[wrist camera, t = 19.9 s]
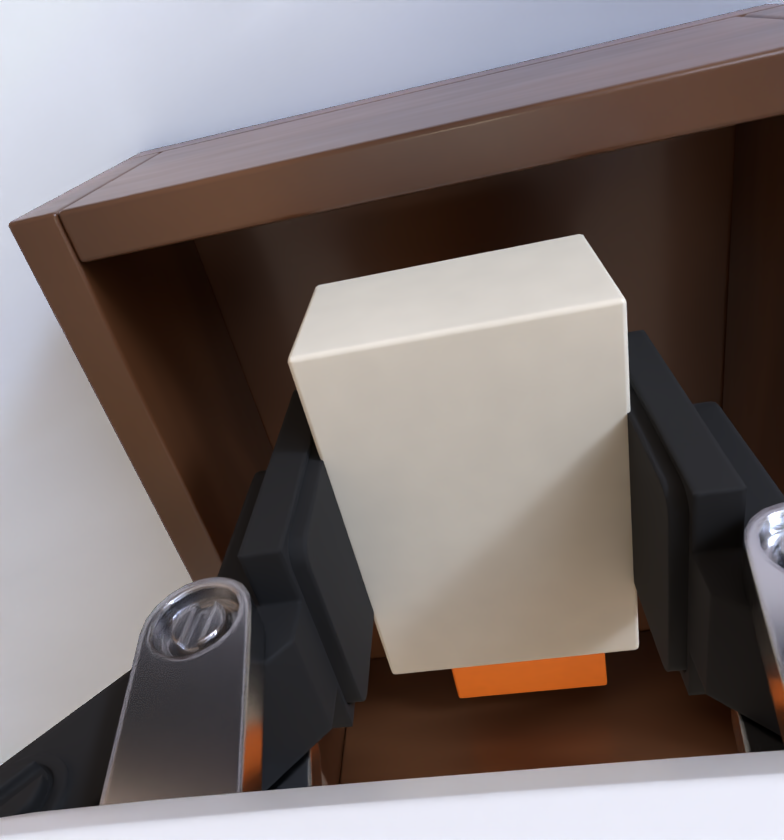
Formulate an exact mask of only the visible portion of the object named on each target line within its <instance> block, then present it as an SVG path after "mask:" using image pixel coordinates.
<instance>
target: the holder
mask: <svg viewBox="0 0 784 840" xmlns="http://www.w3.org/2000/svg"><path fill="white" fill-rule="evenodd" d="M9 228H10V230H11V232H12V234H13V236H14V238H15V239H16V241H17V243H18V245H19V247H20V249H21V251H22V253H23V255H24V257H25V259H26V261H27V263H28V265H29V266H30V268H31V270H32V272H33V274H34V276H35V278H36V280H37V282H38V284H39V286H40V288H41V290H42V292H43V293H44V295H45V297H46V299H47V301H48V303H49V305H50V307H51V309H52V311H53V313H54V315H55V317H56V319H57V320H58V322H59V324H60V326H61V328H62V330H63V332H64V334H65V336H66V338H67V340H68V342H69V344H70V345H71V347H72V349H73V351H74V353H75V355H76V357H77V359H78V361H79V363H80V365H81V367H82V369H83V371H84V372H85V374H86V376H87V378H88V380H89V382H90V384H91V386H92V388H93V390H94V392H95V394H96V396H97V398H98V399H99V401H100V403H101V405H102V407H103V409H104V411H105V413H106V415H107V417H108V419H109V421H110V423H111V424H112V426H113V428H114V430H115V432H116V434H117V436H118V438H119V440H120V442H121V444H122V446H123V448H124V450H125V451H126V453H127V455H128V457H129V459H130V461H131V463H132V465H133V467H134V469H135V471H136V473H137V475H138V477H139V478H140V480H141V482H142V484H143V486H144V488H145V490H146V492H147V494H148V496H149V498H150V500H151V502H152V504H153V505H154V507H155V509H156V511H157V513H158V515H159V517H160V519H161V521H162V523H163V525H164V527H165V529H166V530H167V532H168V534H169V536H170V538H171V540H172V542H173V544H174V546H175V548H176V550H177V552H178V554H179V556H180V557H181V559H182V561H183V563H184V565H185V567H186V569H187V571H188V573H189V575H190V577H191V579H192V581H193V582H195V581H198V580H200V579H205V578H212V577H217V576H218V573H219V570H220V567H221V565H222V562H223V559H224V556H225V554H226V551H227V548H228V545H229V543H230V540H231V537H232V534H233V532H234V529H235V526H236V523H237V521H238V518H239V515H240V512H241V510H242V507H243V504H244V501H245V499H246V496H247V493H248V490H249V488H250V485H251V482H252V479H253V477H254V476H255V474H256V473H257V472H259V471H263V470H267V467H268V465H269V462H270V459H271V456H272V453H273V450H274V447H275V444H276V441H277V438H278V435H279V432H280V429H281V426H282V423H283V420H284V417H285V415H286V412H287V409H288V406H289V403H290V400H291V397H292V394H293V392H294V390H296V389H297V388H296V385H295V382H294V380H293V377H292V374H291V371H290V368H289V365H288V357H289V355H290V352H291V349H292V347H293V344H294V342H295V339H296V337H297V334H298V331H299V329H300V326H301V324H302V321H303V318H304V316H305V313H306V311H307V308H308V306H309V303H310V300H311V298H312V295H313V293H314V290H315V287H317V286H318V285H322V284H327V283H332V282H337V281H343V280H348V279H353V278H358V277H363V276H368V275H373V274H378V273H383V272H388V271H393V270H399V269H404V268H409V267H414V266H419V265H424V264H429V263H434V262H439V261H444V260H450V259H455V258H460V257H465V256H470V255H475V254H480V253H485V252H490V251H495V250H500V249H506V248H511V247H516V246H521V245H526V244H531V243H536V242H541V241H546V240H551V239H557V238H562V237H567V236H572V235H577V234H581V235H583V236H584V237H585V239H586V240H587V242H588V243H589V245H590V246H591V248H592V249H593V251H594V252H595V254H596V255H597V257H598V258H599V260H600V261H601V263H602V264H603V266H604V267H605V269H606V270H607V272H608V274H609V275H610V277H611V278H612V280H613V281H614V283H615V284H616V286H617V287H618V289H619V290H620V292H621V293H622V295H623V296H624V298H625V300H626V302H627V329H628V332H632V331H638V330H644V331H645V332H646V334H647V335H648V337H649V338H650V340H651V341H652V343H653V344H654V346H655V347H656V349H657V350H658V352H659V354H660V355H661V357H662V358H663V360H664V361H665V363H666V364H667V366H668V367H669V369H670V370H671V372H672V373H673V375H674V377H675V378H676V380H677V381H678V383H679V384H680V386H681V387H682V389H683V390H684V392H685V393H686V395H687V396H688V398H689V399H690V401H691V403H692V404H696V403H702V402H709V401H712V402H716V403H717V404H718V405H719V406H720V407H721V409H722V410H723V411H724V413H725V414H726V416H727V417H728V418H729V420H730V421H731V423H732V424H733V425H734V427H735V428H736V430H737V431H738V432H739V434H740V435H741V437H742V438H743V439H744V441H745V442H746V444H747V445H748V446H749V448H750V449H751V451H752V452H753V453H754V455H755V456H756V458H757V459H758V460H759V462H760V463H761V464H762V466H763V467H764V469H765V470H766V471H767V473H768V474H769V476H770V477H771V478H772V480H773V481H774V483H775V484H776V485H777V487H778V488H779V490H780V491H781V492H782V494H783V495H784V5H779V4H765V5H761V6H757V7H752V8H748V9H744V10H740V11H736V12H731V13H727V14H723V15H719V16H714V17H710V18H706V19H702V20H698V21H693V22H689V23H685V24H681V25H676V26H672V27H668V28H664V29H660V30H655V31H651V32H647V33H643V34H638V35H634V36H630V37H626V38H622V39H617V40H613V41H609V42H605V43H600V44H596V45H592V46H588V47H584V48H579V49H575V50H571V51H567V52H562V53H558V54H554V55H550V56H546V57H541V58H537V59H533V60H529V61H524V62H520V63H516V64H512V65H508V66H503V67H499V68H495V69H491V70H486V71H482V72H478V73H474V74H470V75H465V76H461V77H457V78H453V79H448V80H444V81H440V82H436V83H432V84H427V85H423V86H419V87H415V88H410V89H406V90H402V91H398V92H394V93H389V94H385V95H381V96H377V97H372V98H368V99H364V100H360V101H356V102H351V103H347V104H343V105H339V106H334V107H330V108H326V109H322V110H317V111H313V112H309V113H305V114H301V115H296V116H292V117H288V118H284V119H279V120H275V121H271V122H267V123H263V124H258V125H254V126H250V127H246V128H241V129H237V130H233V131H229V132H225V133H220V134H216V135H212V136H208V137H203V138H199V139H195V140H191V141H187V142H182V143H178V144H174V145H170V146H165V147H161V148H157V149H153V150H149V151H144V152H140V153H139V154H137V155H135V156H133V157H131V158H129V159H128V160H126V161H124V162H122V163H120V164H118V165H116V166H114V167H112V168H111V169H109V170H107V171H105V172H103V173H101V174H99V175H97V176H96V177H94V178H92V179H90V180H88V181H86V182H84V183H82V184H81V185H79V186H77V187H75V188H73V189H71V190H69V191H67V192H66V193H64V194H62V195H60V196H58V197H56V198H54V199H53V200H51V201H49V202H47V203H45V204H43V205H41V206H39V207H38V208H36V209H34V210H32V211H30V212H28V213H26V214H24V215H23V216H21V217H19V218H17V219H15V220H13V221H11V222H10V223H9ZM637 603H638V631H639V647H638V649H636V650H628V651H618V652H609V653H605V660H606V673H607V684H606V685H602V686H591V687H580V688H569V689H558V690H547V691H536V692H525V693H514V694H503V695H492V696H481V697H470V698H459V696H458V693H457V689H456V685H455V682H454V678H453V674H452V670H451V669H443V670H433V671H424V672H414V673H404V674H393V673H392V671H391V668H390V665H389V663H388V660H387V657H386V654H385V651H384V648H383V645H382V642H381V639H380V636H379V633H378V630H377V627H376V624H375V621H373V632H372V644H371V656H370V667H369V679H368V691H367V697H366V700H365V701H362V702H355V709H354V718H353V726H352V727H341V728H332V729H331V730H330V731H329V732H328V733H327V734H326V735H325V736H324V737H323V738H322V739H321V740H320V741H319V742H318V745H319V749H320V757H321V776H322V786H326V785H338V784H350V783H362V782H375V781H387V780H400V779H412V778H425V777H438V776H450V775H463V774H475V773H488V772H501V771H514V770H527V769H539V768H552V767H565V766H578V765H591V764H604V763H617V762H630V761H643V760H657V759H670V758H684V757H698V756H711V755H725V754H738V749H737V744H736V739H735V734H734V729H733V724H732V719H731V708H730V707H728V706H726V705H724V704H723V703H721V702H719V701H717V700H715V699H714V698H712V697H710V696H708V695H707V694H700V695H688V692H687V689H686V687H685V684H684V681H683V679H682V676H681V673H680V671H670V672H667V671H666V670H665V668H664V666H663V664H662V661H661V658H660V655H659V652H658V650H657V647H656V644H655V641H654V638H653V635H652V633H651V630H650V627H649V624H648V621H647V618H646V616H645V613H644V610H643V607H642V604H641V601H640V599H639V596H638V593H637Z"/></svg>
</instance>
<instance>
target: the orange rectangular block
mask: <svg viewBox="0 0 784 840" xmlns="http://www.w3.org/2000/svg"><path fill="white" fill-rule="evenodd" d="M451 670H452V674H453V678H454V682H455V685H456V689H457V693H458V696H459V698H470V697H481V696H492V695H503V694H514V693H525V692H536V691H547V690H558V689H569V688H580V687H591V686H602V685H606V684H607V673H606V660H605V653H599V654H589V655H579V656H570V657H560V658H550V659H540V660H531V661H521V662H511V663H501V664H492V665H482V666H472V667H463V668H453V669H451Z"/></svg>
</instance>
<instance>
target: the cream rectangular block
mask: <svg viewBox="0 0 784 840" xmlns="http://www.w3.org/2000/svg"><path fill="white" fill-rule="evenodd" d="M288 365H289V368H290V371H291V374H292V377H293V380H294V382H295V385H296V388H297V391H298V394H299V397H300V400H301V403H302V406H303V409H304V412H305V415H306V418H307V421H308V424H309V427H310V430H311V433H312V436H313V439H314V442H315V445H316V448H317V451H318V454H319V457H320V459H321V460H323V461H324V464H325V467H326V470H327V473H328V476H329V479H330V482H331V485H332V488H333V491H334V494H335V497H336V500H337V503H338V506H339V509H340V512H341V515H342V518H343V521H344V524H345V527H346V530H347V533H348V536H349V539H350V542H351V545H352V548H353V551H354V554H355V557H356V560H357V563H358V566H359V569H360V572H361V575H362V578H363V581H364V584H365V587H366V590H367V593H368V596H369V599H370V602H371V605H372V608H373V611H374V621H375V624H376V627H377V630H378V633H379V636H380V639H381V642H382V645H383V648H384V651H385V654H386V657H387V660H388V663H389V665H390V668H391V671H392V673H393V674H404V673H414V672H424V671H433V670H443V669H453V668H463V667H472V666H482V665H492V664H501V663H511V662H521V661H531V660H540V659H550V658H560V657H570V656H579V655H589V654H599V653H609V652H618V651H628V650H636V649H638V647H639V631H638V603H637V590H636V587H635V584H634V572H633V546H632V521H631V496H630V470H629V445H628V419H627V413H629V412H630V384H629V357H628V329H627V302H626V300H625V298H624V296H623V295H622V293H621V292H620V290H619V289H618V287H617V286H616V284H615V283H614V281H613V280H612V278H611V277H610V275H609V274H608V272H607V270H606V269H605V267H604V266H603V264H602V263H601V261H600V260H599V258H598V257H597V255H596V254H595V252H594V251H593V249H592V248H591V246H590V245H589V243H588V242H587V240H586V239H585V237H584V236H583V235H581V234H577V235H572V236H567V237H562V238H557V239H551V240H546V241H541V242H536V243H531V244H526V245H521V246H516V247H511V248H506V249H500V250H495V251H490V252H485V253H480V254H475V255H470V256H465V257H460V258H455V259H450V260H444V261H439V262H434V263H429V264H424V265H419V266H414V267H409V268H404V269H399V270H393V271H388V272H383V273H378V274H373V275H368V276H363V277H358V278H353V279H348V280H343V281H337V282H332V283H327V284H322V285H318V286H317V287H315V290H314V293H313V295H312V298H311V300H310V303H309V306H308V308H307V311H306V313H305V316H304V318H303V321H302V324H301V326H300V329H299V331H298V334H297V337H296V339H295V342H294V344H293V347H292V349H291V352H290V355H289V357H288Z"/></svg>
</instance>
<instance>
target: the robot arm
mask: <svg viewBox="0 0 784 840" xmlns="http://www.w3.org/2000/svg"><path fill="white" fill-rule="evenodd" d="M628 357H629V384H630V412H629V413H627V419H628V445H629V470H630V496H631V521H632V546H633V572H634V584H635V587H636V590H637V593H638V596H639V599H640V601H641V604H642V607H643V610H644V613H645V616H646V618H647V621H648V624H649V627H650V630H651V633H652V635H653V638H654V641H655V644H656V647H657V650H658V652H659V655H660V658H661V661H662V664H663V666H664V668H665V670H666V671H667V672H670V671H680V673H681V676H682V679H683V681H684V684H685V687H686V689H687V692H688V695H700V694H707V695H708V696H710V697H712V698H714V699H715V700H717V701H719V702H721V703H723V704H724V705H726V706H728V707H730V708H731V719H732V724H733V729H734V734H735V739H736V744H737V749H738V754H725V755H711V756H698V757H684V758H670V759H657V760H643V761H630V762H617V763H604V764H591V765H578V766H565V767H552V768H539V769H527V770H514V771H501V772H488V773H475V774H463V775H450V776H438V777H425V778H412V779H400V780H387V781H375V782H362V783H350V784H338V785H326V786H322V776H321V757H320V749H319V745H318V742H319V741H320V740H321V739H322V738H323V737H324V736H325V735H326V734H327V733H328V732H329V731H330V730H331V729H332V728H341V727H352V726H353V718H354V709H355V702H362V701H365V700H366V697H367V691H368V679H369V667H370V656H371V644H372V632H373V621H374V611H373V608H372V605H371V602H370V599H369V596H368V593H367V590H366V587H365V584H364V581H363V578H362V575H361V572H360V569H359V566H358V563H357V560H356V557H355V554H354V551H353V548H352V545H351V542H350V539H349V536H348V533H347V530H346V527H345V524H344V521H343V518H342V515H341V512H340V509H339V506H338V503H337V500H336V497H335V494H334V491H333V488H332V485H331V482H330V479H329V476H328V473H327V470H326V467H325V464H324V461H323V460H321V459H320V457H319V454H318V451H317V448H316V445H315V442H314V439H313V436H312V433H311V430H310V427H309V424H308V421H307V418H306V415H305V412H304V409H303V406H302V403H301V400H300V397H299V394H298V391H297V389H296V390H294V392H293V394H292V397H291V400H290V403H289V406H288V409H287V412H286V415H285V417H284V420H283V423H282V426H281V429H280V432H279V435H278V438H277V441H276V444H275V447H274V450H273V453H272V456H271V459H270V462H269V465H268V467H267V470H263V471H259V472H257V473H256V474H255V476H254V477H253V479H252V482H251V485H250V488H249V490H248V493H247V496H246V499H245V501H244V504H243V507H242V510H241V512H240V515H239V518H238V521H237V523H236V526H235V529H234V532H233V534H232V537H231V540H230V543H229V545H228V548H227V551H226V554H225V556H224V559H223V562H222V565H221V567H220V570H219V573H218V576H217V577H212V578H205V579H200V580H198V581H195V582H192V583H190V584H187V585H185V586H183V587H181V588H180V589H178V590H176V591H175V592H173V593H171V594H170V595H168V596H167V597H166V598H165V599H164V600H163V601H162V602H160V603H159V604H158V605H157V606H156V607H155V608H154V610H153V611H152V612H151V614H150V615H149V616H148V618H147V619H146V621H145V623H144V625H143V628H142V630H141V633H140V636H139V640H138V644H137V648H136V652H135V657H134V661H133V665H132V669H131V670H130V671H128V672H127V673H126V674H124V675H123V676H122V677H120V678H119V679H118V680H116V681H115V682H114V683H112V684H111V685H109V686H108V687H107V688H105V689H104V690H103V691H101V692H100V693H99V694H97V695H96V696H94V697H93V698H92V699H90V700H89V701H88V702H86V703H85V704H84V705H82V706H81V707H80V708H78V709H77V710H75V711H74V712H73V713H71V714H70V715H69V716H67V717H66V718H65V719H63V720H62V721H61V722H59V723H58V724H56V725H55V726H54V727H52V728H51V729H50V730H48V731H47V732H46V733H44V734H43V735H41V736H40V737H39V738H37V739H36V740H35V741H33V742H32V743H31V744H29V745H28V746H27V747H25V748H24V749H22V750H21V751H20V752H18V753H17V754H16V755H14V756H13V757H12V758H10V759H9V760H8V761H6V762H5V763H4V764H2V765H1V766H0V840H784V495H783V494H782V492H781V491H780V490H779V488H778V487H777V485H776V484H775V483H774V481H773V480H772V478H771V477H770V476H769V474H768V473H767V471H766V470H765V469H764V467H763V466H762V464H761V463H760V462H759V460H758V459H757V458H756V456H755V455H754V453H753V452H752V451H751V449H750V448H749V446H748V445H747V444H746V442H745V441H744V439H743V438H742V437H741V435H740V434H739V432H738V431H737V430H736V428H735V427H734V425H733V424H732V423H731V421H730V420H729V418H728V417H727V416H726V414H725V413H724V411H723V410H722V409H721V407H720V406H719V405H718V404H717V403H716V402H712V401H709V402H702V403H696V404H692V403H691V401H690V399H689V398H688V396H687V395H686V393H685V392H684V390H683V389H682V387H681V386H680V384H679V383H678V381H677V380H676V378H675V377H674V375H673V373H672V372H671V370H670V369H669V367H668V366H667V364H666V363H665V361H664V360H663V358H662V357H661V355H660V354H659V352H658V350H657V349H656V347H655V346H654V344H653V343H652V341H651V340H650V338H649V337H648V335H647V334H646V332H645V331H644V330H638V331H632V332H628Z"/></svg>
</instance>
